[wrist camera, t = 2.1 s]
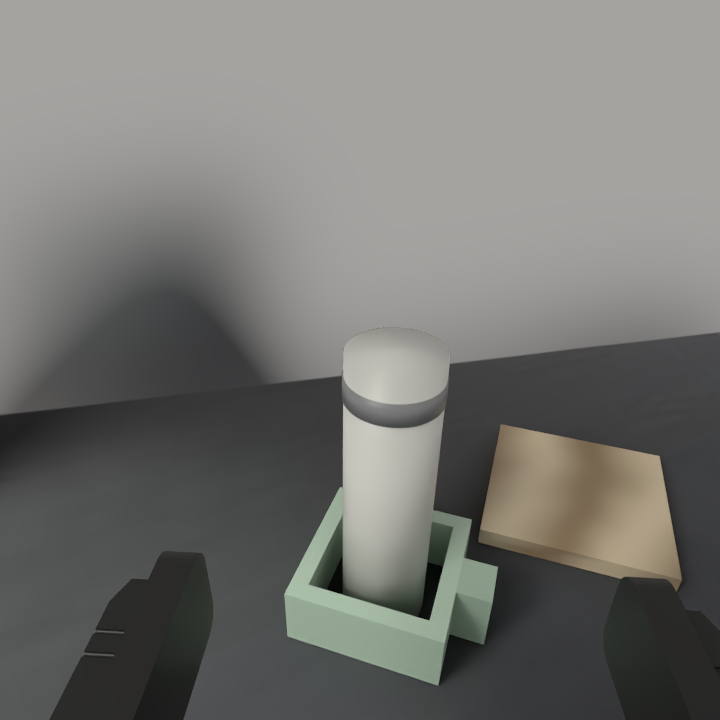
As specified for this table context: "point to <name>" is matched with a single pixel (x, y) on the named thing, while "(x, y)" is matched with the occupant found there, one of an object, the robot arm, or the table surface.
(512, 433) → the oak pad
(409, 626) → the collar
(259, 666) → the table surface
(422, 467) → the thermos bottle
